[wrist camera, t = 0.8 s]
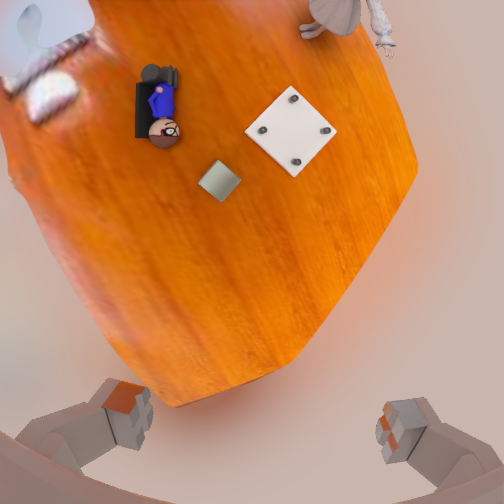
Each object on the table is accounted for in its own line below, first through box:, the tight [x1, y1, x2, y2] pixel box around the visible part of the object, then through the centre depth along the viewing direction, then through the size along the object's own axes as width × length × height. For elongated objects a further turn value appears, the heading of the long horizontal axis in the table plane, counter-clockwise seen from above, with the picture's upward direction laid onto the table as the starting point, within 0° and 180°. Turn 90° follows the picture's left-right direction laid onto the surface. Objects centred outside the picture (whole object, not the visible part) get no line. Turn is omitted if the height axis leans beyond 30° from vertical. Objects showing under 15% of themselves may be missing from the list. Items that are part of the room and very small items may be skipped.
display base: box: [244, 86, 337, 177], centre depth 49 cm, size 12×12×4 cm
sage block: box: [198, 159, 241, 203], centre depth 47 cm, size 4×4×10 cm
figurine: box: [299, 0, 396, 58], centre depth 31 cm, size 25×8×30 cm, turn 14°
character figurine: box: [135, 64, 179, 148], centre depth 43 cm, size 8×7×15 cm
